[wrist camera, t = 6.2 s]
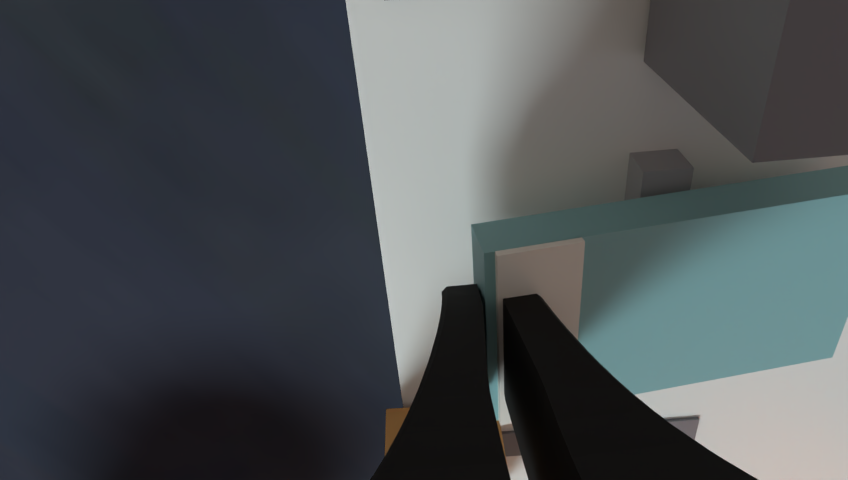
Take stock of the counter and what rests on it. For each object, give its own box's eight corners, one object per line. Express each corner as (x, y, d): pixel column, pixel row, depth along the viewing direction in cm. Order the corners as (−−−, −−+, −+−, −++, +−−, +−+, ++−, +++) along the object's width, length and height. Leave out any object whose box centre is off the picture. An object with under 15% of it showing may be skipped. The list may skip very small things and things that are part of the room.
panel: (1540, -528, 9) (1818, -616, 7) (930, 494, 22) (975, 551, 20) (298, -398, 9) (272, -453, 8) (424, 530, 22) (426, 589, 21)
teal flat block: (857, 164, 12) (903, 190, 12) (802, 328, 15) (837, 361, 14) (470, 224, 12) (486, 257, 11) (478, 387, 14) (491, 427, 13)
